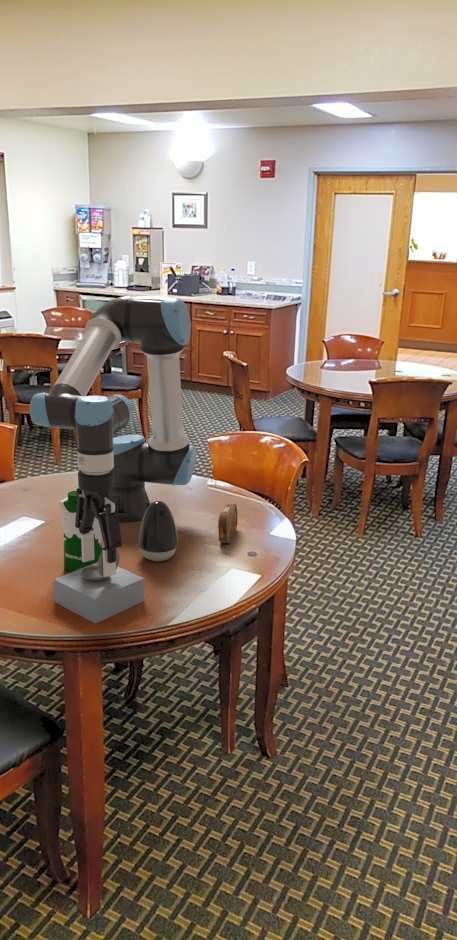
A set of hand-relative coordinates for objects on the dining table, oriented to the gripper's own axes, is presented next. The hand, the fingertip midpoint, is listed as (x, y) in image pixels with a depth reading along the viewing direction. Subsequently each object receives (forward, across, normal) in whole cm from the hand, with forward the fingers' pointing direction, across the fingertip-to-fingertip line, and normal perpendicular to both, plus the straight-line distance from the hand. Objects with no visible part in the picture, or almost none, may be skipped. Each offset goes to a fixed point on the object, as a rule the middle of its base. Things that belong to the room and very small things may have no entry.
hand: (98, 567), depth 160 cm
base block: (+9, 0, 0) cm, 9 cm away
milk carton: (+9, -18, +6) cm, 21 cm away
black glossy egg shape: (+9, -12, +24) cm, 28 cm away
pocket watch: (+2, 0, 0) cm, 2 cm away
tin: (+9, -12, +47) cm, 49 cm away
